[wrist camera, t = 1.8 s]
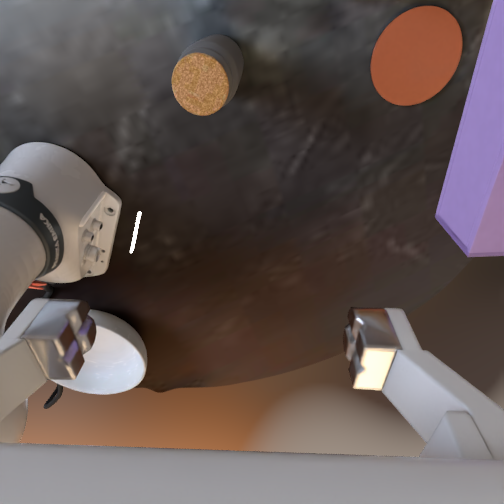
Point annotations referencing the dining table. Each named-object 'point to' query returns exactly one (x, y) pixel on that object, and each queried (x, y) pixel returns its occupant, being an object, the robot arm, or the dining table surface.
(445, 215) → the purple block
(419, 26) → the coaster
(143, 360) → the serving bowl
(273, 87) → the dining table surface
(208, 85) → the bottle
